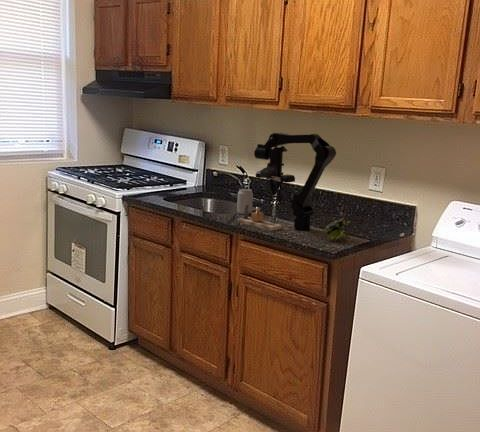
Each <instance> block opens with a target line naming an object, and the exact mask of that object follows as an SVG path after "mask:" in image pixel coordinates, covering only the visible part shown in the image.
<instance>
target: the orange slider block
mask: <svg viewBox="0 0 480 432" xmlns="http://www.w3.org/2000/svg"><path fill="white" fill-rule="evenodd" d="M250 218H251V220H252V221H256V222H258V221H264V212H262V211H260V206H256V207H255V211H254V212H253V211H252V213H251V217H250Z"/></svg>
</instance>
